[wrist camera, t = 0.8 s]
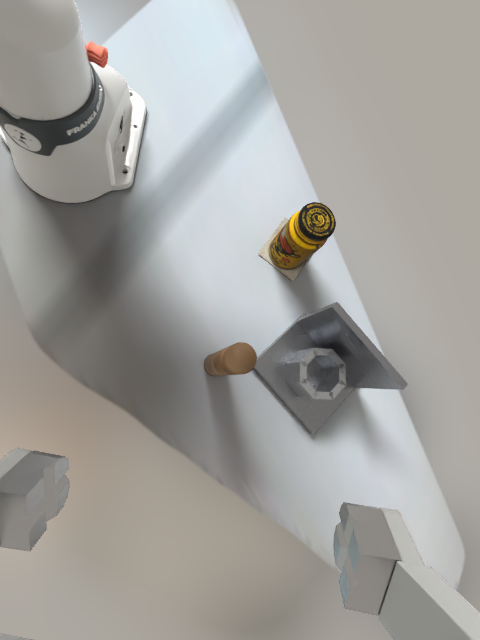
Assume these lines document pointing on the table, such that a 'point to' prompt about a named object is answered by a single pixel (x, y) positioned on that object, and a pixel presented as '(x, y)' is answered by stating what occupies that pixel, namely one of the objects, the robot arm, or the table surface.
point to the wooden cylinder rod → (231, 360)
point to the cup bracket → (323, 365)
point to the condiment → (299, 239)
